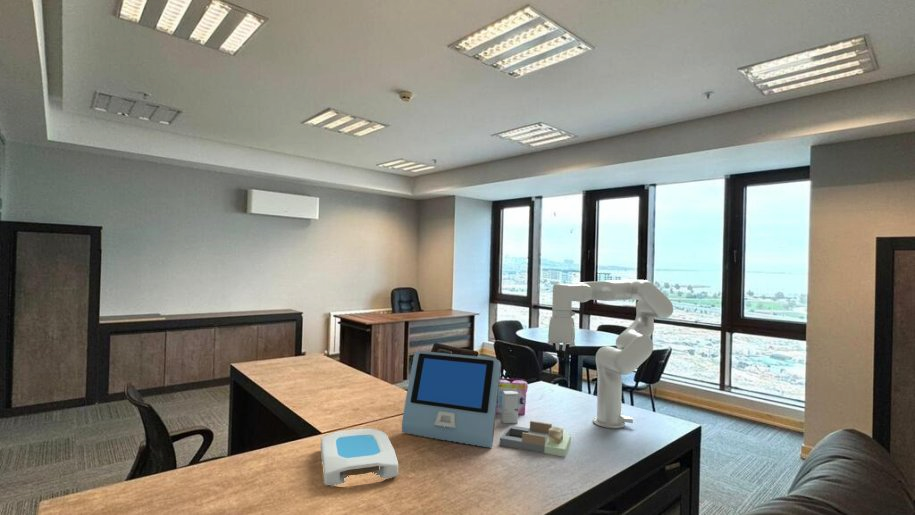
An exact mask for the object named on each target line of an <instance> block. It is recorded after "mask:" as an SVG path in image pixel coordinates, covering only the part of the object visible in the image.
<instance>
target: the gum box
mask: <svg viewBox="0 0 915 515" xmlns="http://www.w3.org/2000/svg"><path fill="white" fill-rule="evenodd" d="M528 385H529V384H528V382H527V380H526V379H524V378H506V377H505V378H504V377H500V382H499V391H498V400H497V409H496V414H502V396H503V391H516V392H517V393H518V394H519V400H518V415H526V404H527V392H528V388H529V386H528Z"/></svg>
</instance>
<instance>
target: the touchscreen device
mask: <svg viewBox="0 0 915 515" xmlns="http://www.w3.org/2000/svg"><path fill="white" fill-rule="evenodd" d="M501 370H502V362H501V361H500V360H499V359H497V358H495V357H487V356H476V355H465V354H464V355H463V354H456V353H445V352H435V351H423V350H418V351H416V352H415V353H414V355H413V357H412V364H411V369H410V376H409V379H408V385H407V391H406V396H405V401H404V408H403V413H402V421H401V432H402V433H403V432H404V434H406V433H409V434H408V435H410V434H414V435H413V436H416V435H418V436H417V437H421V436H424V437H423V438H427V437H429V438H428V439H433V438H435V439H434V440H439V439H441V440H440V441H445V440H447V441H446V442H451V441H453V442H452V443H456V442H459V444H463V443H465V445H469V444H471V445H470V446H475V445H477V446H476V447H481V446H482V447H483V448H489V447H491V448H493V446H494V438H495V437H494V436H495V427H496V426H495V425H496V419H497V418H496V416H497V413H496V409H497V400H498V391H499V382H500V378H501V374H502V373H501ZM444 426H445V427H444Z"/></svg>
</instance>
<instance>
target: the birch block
mask: <svg viewBox="0 0 915 515" xmlns="http://www.w3.org/2000/svg"><path fill="white" fill-rule="evenodd" d="M563 434H564V428H561V427H557V426H553V425H552V427H551V428H550V429H549V441H550V442H554V443H558V444H560V443H561V442H562V440H563Z"/></svg>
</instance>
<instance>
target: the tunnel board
mask: <svg viewBox="0 0 915 515" xmlns="http://www.w3.org/2000/svg"><path fill="white" fill-rule="evenodd" d="M552 424H553V423H548V422H541V421H534V420H530V421H529V428H528V427H522V426H516V425H511V424H510V425H509V426H508V427H507V429H506V430H505V431H504V432H503V434H502V435H500V437H499V446H503V447H509V448H513V449H514V448H515V449H520V450H524V451H530V452H536V453H540V454H541V453H542V454H547V455H552V456H553V455H554V456H559V457H563V458H565V457H566V456H567V453H568V450H569V448H570V446H571V442H572V435H571V434H566V433H563V440H562V442H561V443H560V444H558V443H554V442H550V441H549V429H550V428H551V427H552V426H553V425H552Z"/></svg>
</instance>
